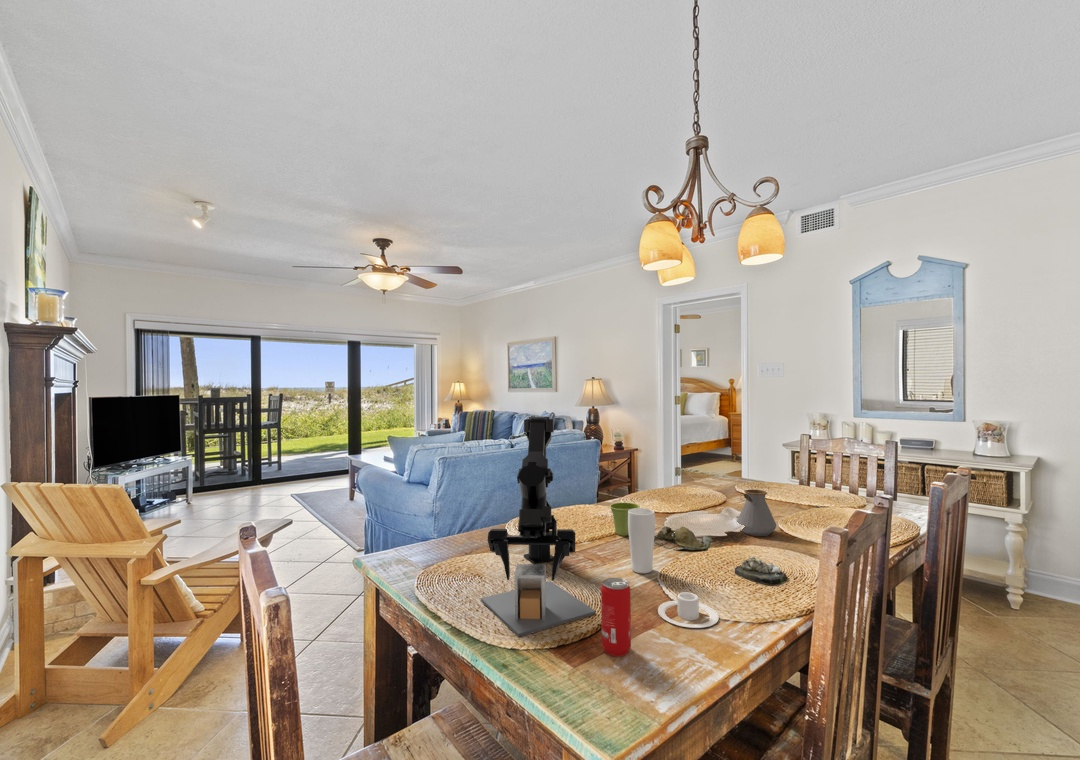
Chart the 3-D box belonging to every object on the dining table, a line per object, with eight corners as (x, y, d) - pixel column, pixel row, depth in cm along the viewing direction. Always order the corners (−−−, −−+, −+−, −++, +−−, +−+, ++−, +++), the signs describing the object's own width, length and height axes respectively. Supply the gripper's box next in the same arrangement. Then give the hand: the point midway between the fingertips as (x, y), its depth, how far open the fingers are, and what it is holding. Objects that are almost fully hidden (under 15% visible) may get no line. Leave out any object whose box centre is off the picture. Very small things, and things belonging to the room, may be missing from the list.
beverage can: (599, 643, 92) (598, 577, 92) (626, 641, 92) (626, 576, 92) (605, 658, 86) (604, 589, 86) (634, 657, 87) (633, 588, 87)
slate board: (480, 600, 110) (480, 598, 110) (550, 583, 119) (550, 581, 119) (518, 637, 94) (518, 633, 94) (595, 613, 103) (595, 611, 103)
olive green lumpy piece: (727, 551, 141) (727, 532, 141) (667, 555, 138) (667, 535, 138) (697, 532, 159) (697, 515, 159) (643, 535, 156) (643, 518, 156)
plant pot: (604, 534, 156) (604, 507, 156) (618, 527, 163) (617, 500, 163) (632, 540, 150) (632, 511, 150) (644, 532, 158) (644, 504, 158)
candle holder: (652, 603, 108) (652, 583, 108) (708, 603, 108) (708, 583, 108) (664, 631, 96) (664, 609, 96) (727, 631, 96) (727, 609, 96)
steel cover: (517, 606, 105) (517, 564, 105) (546, 606, 105) (545, 564, 105) (514, 620, 99) (514, 575, 99) (544, 620, 99) (544, 575, 99)
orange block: (521, 609, 104) (521, 590, 104) (541, 609, 104) (540, 590, 104) (520, 618, 100) (520, 598, 100) (540, 618, 100) (539, 598, 100)
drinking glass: (656, 576, 122) (655, 515, 122) (628, 574, 124) (627, 514, 124) (655, 566, 129) (654, 508, 129) (628, 564, 130) (628, 507, 130)
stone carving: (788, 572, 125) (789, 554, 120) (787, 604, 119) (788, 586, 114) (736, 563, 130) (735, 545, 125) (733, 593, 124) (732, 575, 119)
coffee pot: (741, 525, 164) (740, 479, 164) (779, 530, 158) (779, 483, 158) (724, 542, 147) (723, 492, 147) (766, 550, 140) (765, 496, 140)
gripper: (488, 491, 108) (479, 561, 97) (574, 492, 107) (576, 562, 96) (494, 518, 116) (486, 585, 104) (574, 518, 114) (576, 586, 103)
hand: (530, 579), depth 102 cm, fingers open, 9 cm apart
